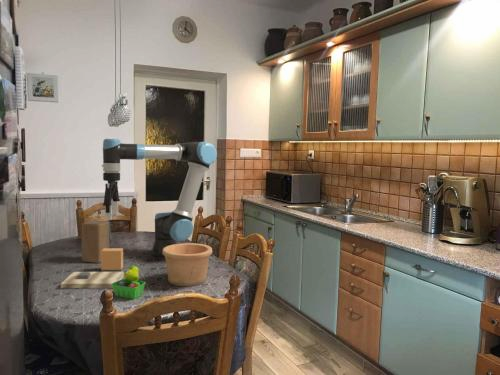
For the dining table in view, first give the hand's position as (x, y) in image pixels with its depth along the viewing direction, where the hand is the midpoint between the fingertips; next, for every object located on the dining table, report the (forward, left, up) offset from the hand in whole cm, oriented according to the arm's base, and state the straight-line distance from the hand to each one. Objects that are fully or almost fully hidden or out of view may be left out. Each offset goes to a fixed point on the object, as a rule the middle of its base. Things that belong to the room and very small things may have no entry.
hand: (111, 217), depth 187 cm
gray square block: (+8, +17, -24) cm, 30 cm away
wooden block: (+12, -17, -26) cm, 33 cm away
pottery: (-36, +16, -26) cm, 47 cm away
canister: (+20, -56, -26) cm, 65 cm away
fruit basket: (-14, +33, -26) cm, 44 cm away
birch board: (+4, +17, -25) cm, 31 cm away
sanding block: (0, 0, -26) cm, 26 cm away
